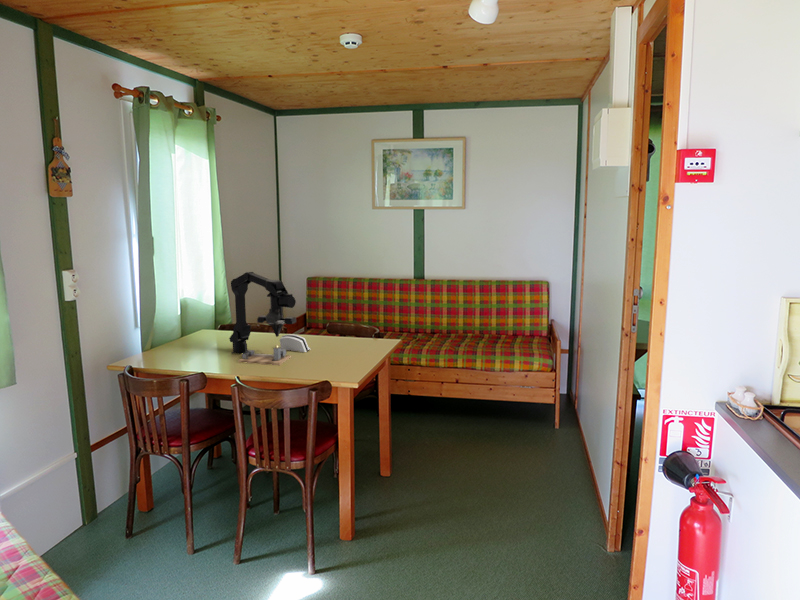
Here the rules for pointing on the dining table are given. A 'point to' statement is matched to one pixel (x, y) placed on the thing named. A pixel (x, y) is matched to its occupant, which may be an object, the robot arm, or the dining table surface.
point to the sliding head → (278, 352)
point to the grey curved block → (294, 343)
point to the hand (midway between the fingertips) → (277, 336)
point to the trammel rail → (256, 355)
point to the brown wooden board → (264, 360)
